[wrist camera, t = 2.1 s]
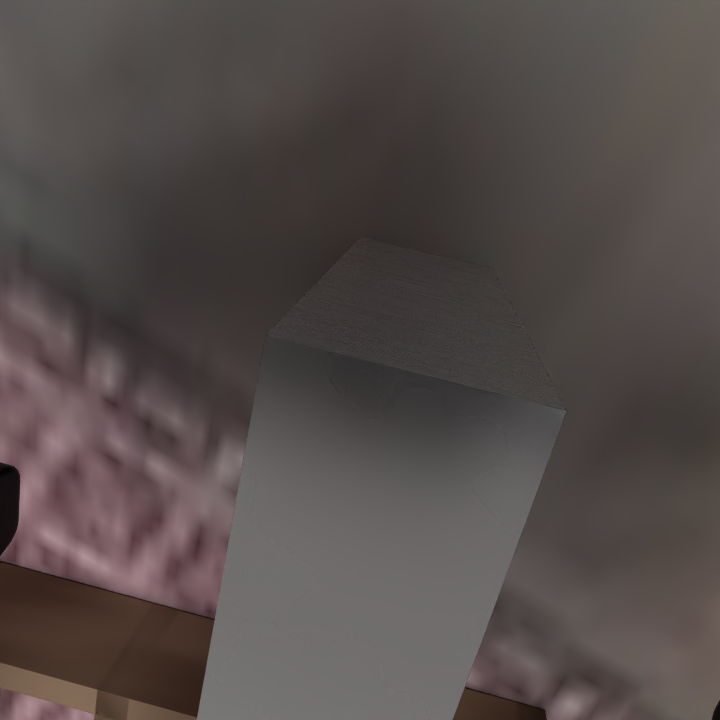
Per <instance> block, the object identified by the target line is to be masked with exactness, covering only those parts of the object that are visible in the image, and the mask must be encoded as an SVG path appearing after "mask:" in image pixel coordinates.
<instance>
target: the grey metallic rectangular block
mask: <svg viewBox="0 0 720 720" xmlns="http://www.w3.org/2000/svg"><path fill="white" fill-rule="evenodd" d="M566 412H567V410H566V408H565V407H564V405H563V403H562V401H561V399H560V397H559V395H558V393H557V391H556V389H555V387H554V385H553V383H552V381H551V379H550V378H549V376H548V374H547V372H546V370H545V368H544V366H543V364H542V362H541V360H540V358H539V356H538V354H537V352H536V350H535V348H534V347H533V345H532V343H531V341H530V339H529V337H528V335H527V333H526V331H525V329H524V327H523V325H522V323H521V321H520V319H519V318H518V316H517V314H516V312H515V310H514V308H513V306H512V304H511V302H510V300H509V298H508V296H507V294H506V292H505V290H504V288H503V287H502V285H501V283H500V281H499V279H498V277H497V275H496V273H495V271H494V269H491V268H487V267H483V266H479V265H475V264H471V263H467V262H463V261H458V260H454V259H450V258H446V257H442V256H438V255H434V254H430V253H426V252H421V251H417V250H413V249H409V248H405V247H401V246H397V245H393V244H389V243H385V242H380V241H376V240H372V239H368V238H364V237H360V238H359V239H358V240H357V241H356V242H355V244H354V245H353V246H352V247H351V248H350V249H349V250H348V251H347V252H346V253H345V254H344V255H343V256H342V257H341V258H340V259H339V260H338V261H337V262H336V263H335V264H334V265H333V266H332V267H331V268H330V269H329V270H328V271H327V272H326V273H325V274H324V275H323V276H322V277H321V279H320V280H319V281H318V282H317V283H316V284H315V285H314V286H313V287H312V288H311V289H310V290H309V291H308V292H307V293H306V294H305V295H304V296H303V297H302V298H301V299H300V300H299V301H298V302H297V303H296V304H295V305H294V306H293V307H292V308H291V309H290V310H289V311H288V312H287V314H286V315H285V316H284V317H283V318H282V319H281V320H280V321H279V322H278V323H277V324H276V325H275V326H274V327H273V328H272V329H271V330H270V331H269V332H268V333H267V334H266V335H265V341H264V347H263V352H262V358H261V363H260V369H259V375H258V380H257V386H256V391H255V397H254V403H253V408H252V414H251V419H250V425H249V431H248V436H247V442H246V447H245V453H244V458H243V464H242V470H241V475H240V481H239V486H238V492H237V498H236V503H235V509H234V514H233V520H232V526H231V531H230V537H229V542H228V548H227V554H226V559H225V565H224V570H223V576H222V582H221V587H220V593H219V598H218V604H217V609H216V615H215V621H214V626H213V632H212V637H211V643H210V649H209V654H208V660H207V665H206V671H205V677H204V682H203V688H202V693H201V699H200V705H199V710H198V716H197V720H453V717H454V714H455V712H456V709H457V706H458V704H459V701H460V698H461V696H462V693H463V690H464V687H465V685H466V682H467V679H468V677H469V674H470V671H471V669H472V666H473V663H474V660H475V658H476V655H477V652H478V650H479V647H480V644H481V642H482V639H483V636H484V633H485V631H486V628H487V625H488V623H489V620H490V617H491V614H492V612H493V609H494V606H495V604H496V601H497V598H498V596H499V593H500V590H501V587H502V585H503V582H504V579H505V577H506V574H507V571H508V569H509V566H510V563H511V560H512V558H513V555H514V552H515V550H516V547H517V544H518V542H519V539H520V536H521V533H522V531H523V528H524V525H525V523H526V520H527V517H528V515H529V512H530V509H531V506H532V504H533V501H534V498H535V496H536V493H537V490H538V488H539V485H540V482H541V479H542V477H543V474H544V471H545V469H546V466H547V463H548V461H549V458H550V455H551V452H552V450H553V447H554V444H555V442H556V439H557V436H558V434H559V431H560V428H561V425H562V423H563V420H564V417H565V415H566Z"/></svg>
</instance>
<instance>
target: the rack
mask: <svg viewBox="0 0 720 720" xmlns="http://www.w3.org/2000/svg"><path fill="white" fill-rule="evenodd" d="M214 621H215V620H212V619H208V618H205V617H201V616H197V615H194V614H190V613H186V612H183V611H179V610H175V609H171V608H168V607H164V606H160V605H157V604H153V603H149V602H146V601H142V600H138V599H135V598H131V597H127V596H124V595H120V594H116V593H113V592H109V591H105V590H102V589H98V588H94V587H91V586H87V585H83V584H80V583H76V582H72V581H69V580H65V579H61V578H58V577H54V576H50V575H47V574H43V573H39V572H36V571H32V570H28V569H25V568H21V567H17V566H14V565H10V564H6V563H3V562H0V688H4V689H7V690H11V691H14V692H18V693H22V694H25V695H29V696H32V697H36V698H39V699H43V700H46V701H50V702H54V703H57V704H61V705H64V706H68V707H71V708H75V709H78V710H82V711H86V712H89V713H93V714H95V718H94V720H197V716H198V710H199V705H200V699H201V693H202V688H203V682H204V677H205V671H206V665H207V660H208V654H209V649H210V643H211V637H212V632H213V626H214ZM453 720H547V719H546V714H545V710H542V709H539V708H535V707H531V706H528V705H524V704H520V703H517V702H513V701H509V700H506V699H502V698H498V697H495V696H491V695H487V694H484V693H480V692H476V691H473V690H469V689H465V688H464V690H463V693H462V696H461V698H460V701H459V704H458V706H457V709H456V712H455V714H454V717H453Z"/></svg>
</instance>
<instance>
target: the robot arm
mask: <svg viewBox="0 0 720 720" xmlns="http://www.w3.org/2000/svg"><path fill="white" fill-rule="evenodd" d="M19 497H20V474H19V471H18V470H17V469H16V468H15V467H14V466H12V465H8V464H4V463H1V462H0V556H1V554H2V553H3V552H4V550H5V549H6V548H7V546H8V545H9V544H10V542H11V541H12V539H13V537H14V535H15V533H16V530H17V526H18V521H19ZM712 720H720V701H719V702H718V704H717V706H716V708H715V710H714V712H713V716H712Z"/></svg>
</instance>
